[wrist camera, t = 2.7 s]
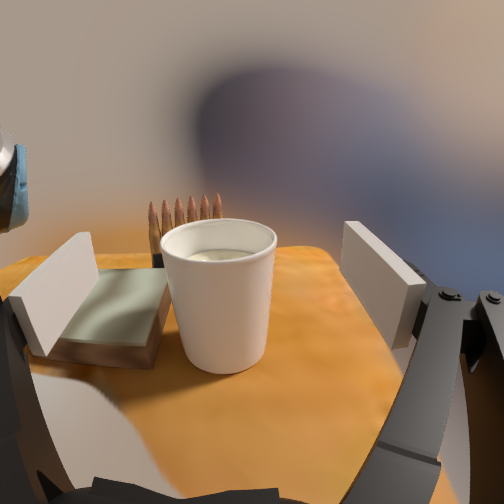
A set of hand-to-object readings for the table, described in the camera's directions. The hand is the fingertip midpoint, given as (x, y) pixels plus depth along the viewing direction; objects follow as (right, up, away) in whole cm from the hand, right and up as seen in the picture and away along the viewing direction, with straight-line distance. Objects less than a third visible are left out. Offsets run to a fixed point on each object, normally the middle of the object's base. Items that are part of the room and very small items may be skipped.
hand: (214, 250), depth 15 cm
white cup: (-1, -10, +16) cm, 18 cm away
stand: (-16, -8, +18) cm, 26 cm away
